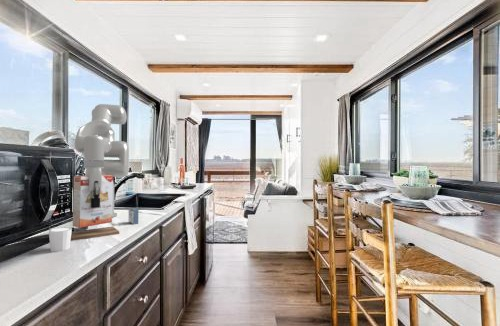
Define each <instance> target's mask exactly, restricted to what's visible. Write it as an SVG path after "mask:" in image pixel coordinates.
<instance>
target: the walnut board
mask: <svg viewBox="0 0 500 326" xmlns="http://www.w3.org/2000/svg"><path fill="white" fill-rule="evenodd" d="M111 235H113V236H114V235H120V231H119V230H118V229H117V228H116V227H114V226H106V227H98V228H97V227H96V228H91V229H89V228H88V229H87V230H81V231H80V230H75V231H72V232H71V240H70V242H72V241H79V240H85V239H92V238H93V239H94V238H99V237H105V236H111Z"/></svg>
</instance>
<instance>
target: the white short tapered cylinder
mask: <svg viewBox="0 0 500 326" xmlns="http://www.w3.org/2000/svg"><path fill="white" fill-rule="evenodd" d="M72 230H73V228H71V227H57V228H52V229H49V230H48V238H49V239H48V240H49V247H50V251H51V252H52V253H53V252H55V253H56V252H57V253H58V252H63V251H68V250H69V249H70V247H71V241H70V240H71V232H73V231H72Z"/></svg>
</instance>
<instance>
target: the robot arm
mask: <svg viewBox="0 0 500 326" xmlns="http://www.w3.org/2000/svg"><path fill="white" fill-rule="evenodd" d="M126 111H127V110H126V109H125V108H124V107H123V105H117V104H106V103H105V104H104V103H99V104H97V105H95V107H93V108H92V110H91V120H90V121H89V122H86V123H85V124H84V125H82V126H80V128H79V129H78V130H77V133H76V135H75V138H74V149H75V151H77V152H78V153H81V154H83V168H84V169H85V175H84V176H89V185H88V186H89V187H88V191H89V192H90V191H92V198H91V208H99V207H100V191H101V188H102V175H112V176H113V178H115V177H117V178H118V177H120V178H121V177H122V178H123V177H126V176H127V175H128V174H129V169H130V168H129V166H130V165H129V164H130V163H129V145H128V142H126V141H123V140H115V136H116V135H115V130H113V128H112V127H111V125H125V124H126V122H127V119H128V118H127V117H128V116H127V112H126ZM105 158H114V159H105ZM115 158H117V159H115ZM94 185H95V188H94V189H95V191H93V187H94ZM99 188H100V191H99ZM117 216H118V213H117V212H115V184H114V182H113V201H112V218H115V217H117Z"/></svg>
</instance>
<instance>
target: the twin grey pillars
mask: <svg viewBox="0 0 500 326" xmlns="http://www.w3.org/2000/svg"><path fill="white" fill-rule="evenodd" d="M128 222H129V223H130V224H132V225H138V224H139V209H137V208H135V207H131V208H129V209H128ZM77 228H78V227H77ZM81 230H89V226H88V227H82V228H78V231H81Z"/></svg>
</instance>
